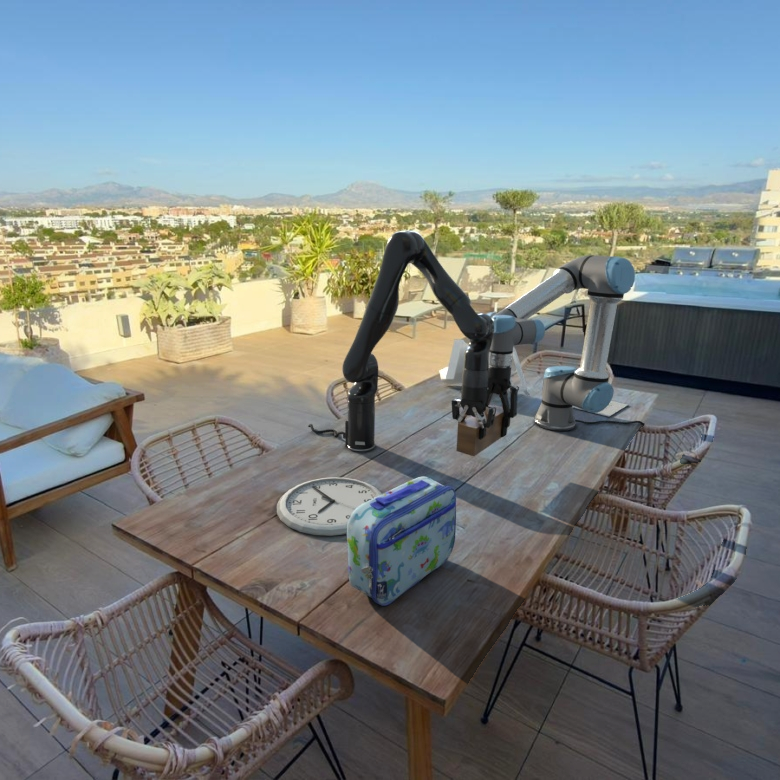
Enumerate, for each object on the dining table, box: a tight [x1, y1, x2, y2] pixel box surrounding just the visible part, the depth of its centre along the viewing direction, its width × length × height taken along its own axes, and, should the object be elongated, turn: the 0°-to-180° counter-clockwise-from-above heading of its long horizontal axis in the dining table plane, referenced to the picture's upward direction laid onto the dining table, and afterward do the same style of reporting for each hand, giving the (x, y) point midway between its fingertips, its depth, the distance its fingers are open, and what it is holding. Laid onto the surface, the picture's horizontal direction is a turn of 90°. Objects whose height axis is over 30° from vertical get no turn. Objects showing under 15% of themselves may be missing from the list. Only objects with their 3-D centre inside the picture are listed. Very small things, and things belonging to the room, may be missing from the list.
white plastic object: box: [438, 310, 531, 397], centre depth 245 cm, size 37×45×31 cm
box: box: [455, 404, 508, 457], centre depth 164 cm, size 22×6×9 cm, turn 143°
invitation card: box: [573, 400, 629, 418], centre depth 226 cm, size 21×1×15 cm
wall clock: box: [276, 476, 384, 537], centre depth 142 cm, size 30×2×30 cm
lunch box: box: [346, 475, 457, 607], centre depth 111 cm, size 26×11×21 cm, turn 134°
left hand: (471, 435), depth 158 cm, fingers closed on box, 6 cm apart
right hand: (493, 433), depth 171 cm, fingers closed on box, 6 cm apart
